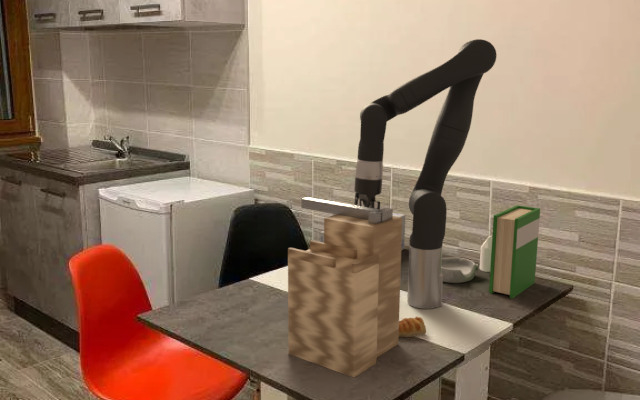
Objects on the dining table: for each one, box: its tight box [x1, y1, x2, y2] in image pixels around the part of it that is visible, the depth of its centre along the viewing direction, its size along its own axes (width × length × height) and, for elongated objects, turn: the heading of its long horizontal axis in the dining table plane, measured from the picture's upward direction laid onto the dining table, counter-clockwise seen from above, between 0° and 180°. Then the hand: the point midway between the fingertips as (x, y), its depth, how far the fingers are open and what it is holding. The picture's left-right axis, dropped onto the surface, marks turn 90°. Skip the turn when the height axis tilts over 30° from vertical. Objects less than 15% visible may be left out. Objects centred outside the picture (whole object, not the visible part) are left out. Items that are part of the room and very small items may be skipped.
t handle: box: [300, 196, 394, 225], centre depth 157 cm, size 24×7×2 cm, turn 52°
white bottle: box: [479, 235, 492, 273], centre depth 217 cm, size 6×12×6 cm
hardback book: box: [488, 204, 541, 299], centre depth 198 cm, size 18×7×24 cm, turn 142°
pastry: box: [399, 316, 427, 338], centre depth 167 cm, size 9×7×4 cm
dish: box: [441, 257, 480, 284], centre depth 210 cm, size 14×14×5 cm
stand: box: [287, 214, 402, 378], centre depth 154 cm, size 19×21×32 cm
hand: (364, 232), depth 184 cm, fingers open, 8 cm apart
